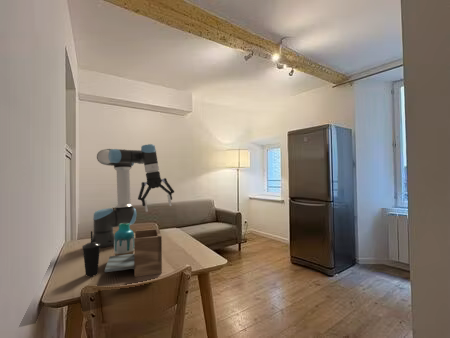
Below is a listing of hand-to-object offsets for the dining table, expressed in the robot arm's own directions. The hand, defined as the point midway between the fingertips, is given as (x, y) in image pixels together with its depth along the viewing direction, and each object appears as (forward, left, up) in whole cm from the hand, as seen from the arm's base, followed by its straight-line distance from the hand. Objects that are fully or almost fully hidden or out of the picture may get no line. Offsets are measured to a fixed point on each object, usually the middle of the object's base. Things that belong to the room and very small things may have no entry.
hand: (158, 208), depth 138 cm
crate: (+16, -13, -27) cm, 33 cm away
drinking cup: (+15, -32, -27) cm, 44 cm away
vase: (-3, -19, -27) cm, 33 cm away
